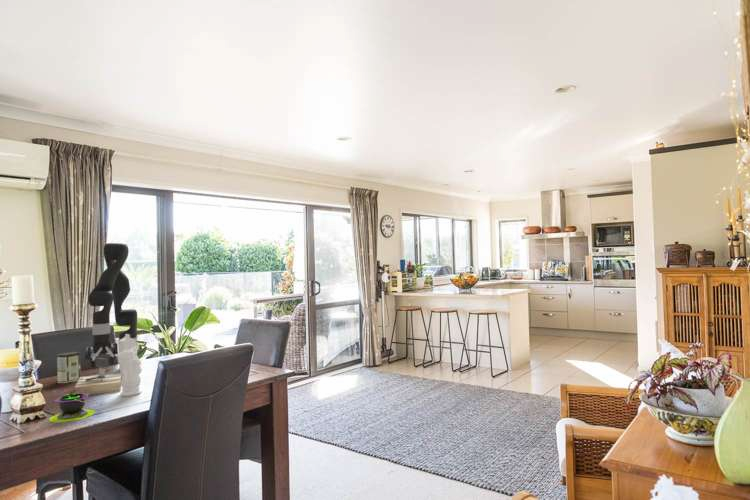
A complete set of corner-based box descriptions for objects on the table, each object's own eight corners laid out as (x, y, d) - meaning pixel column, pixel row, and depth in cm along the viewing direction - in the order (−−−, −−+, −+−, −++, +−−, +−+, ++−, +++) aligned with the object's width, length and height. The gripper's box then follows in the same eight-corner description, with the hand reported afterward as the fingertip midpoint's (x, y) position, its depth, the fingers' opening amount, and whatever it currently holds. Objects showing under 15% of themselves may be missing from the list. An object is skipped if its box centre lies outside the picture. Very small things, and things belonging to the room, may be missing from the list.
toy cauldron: (100, 414, 187) (100, 386, 187) (55, 425, 176) (55, 394, 176) (87, 408, 197) (86, 380, 197) (43, 417, 186) (43, 388, 186)
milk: (124, 378, 249) (123, 335, 249) (119, 376, 253) (118, 334, 253) (136, 375, 253) (135, 333, 253) (132, 374, 257) (131, 332, 258)
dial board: (79, 385, 236) (79, 376, 236) (121, 380, 244) (121, 371, 244) (74, 396, 215) (74, 387, 215) (120, 390, 223) (120, 381, 223)
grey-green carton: (67, 378, 252) (66, 351, 253) (85, 378, 251) (85, 351, 252) (52, 383, 242) (51, 355, 243) (71, 383, 241) (70, 354, 242)
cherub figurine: (130, 397, 210) (129, 347, 210) (106, 397, 213) (104, 347, 213) (149, 390, 222) (147, 342, 222) (125, 389, 225) (124, 342, 225)
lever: (100, 376, 235) (100, 357, 235) (108, 377, 233) (108, 358, 233) (82, 380, 227) (81, 361, 227) (90, 381, 224) (89, 362, 224)
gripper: (112, 330, 241) (112, 363, 241) (82, 334, 229) (82, 369, 229) (120, 331, 237) (120, 364, 237) (90, 335, 225) (90, 370, 225)
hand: (102, 366), depth 233 cm, fingers open, 8 cm apart
